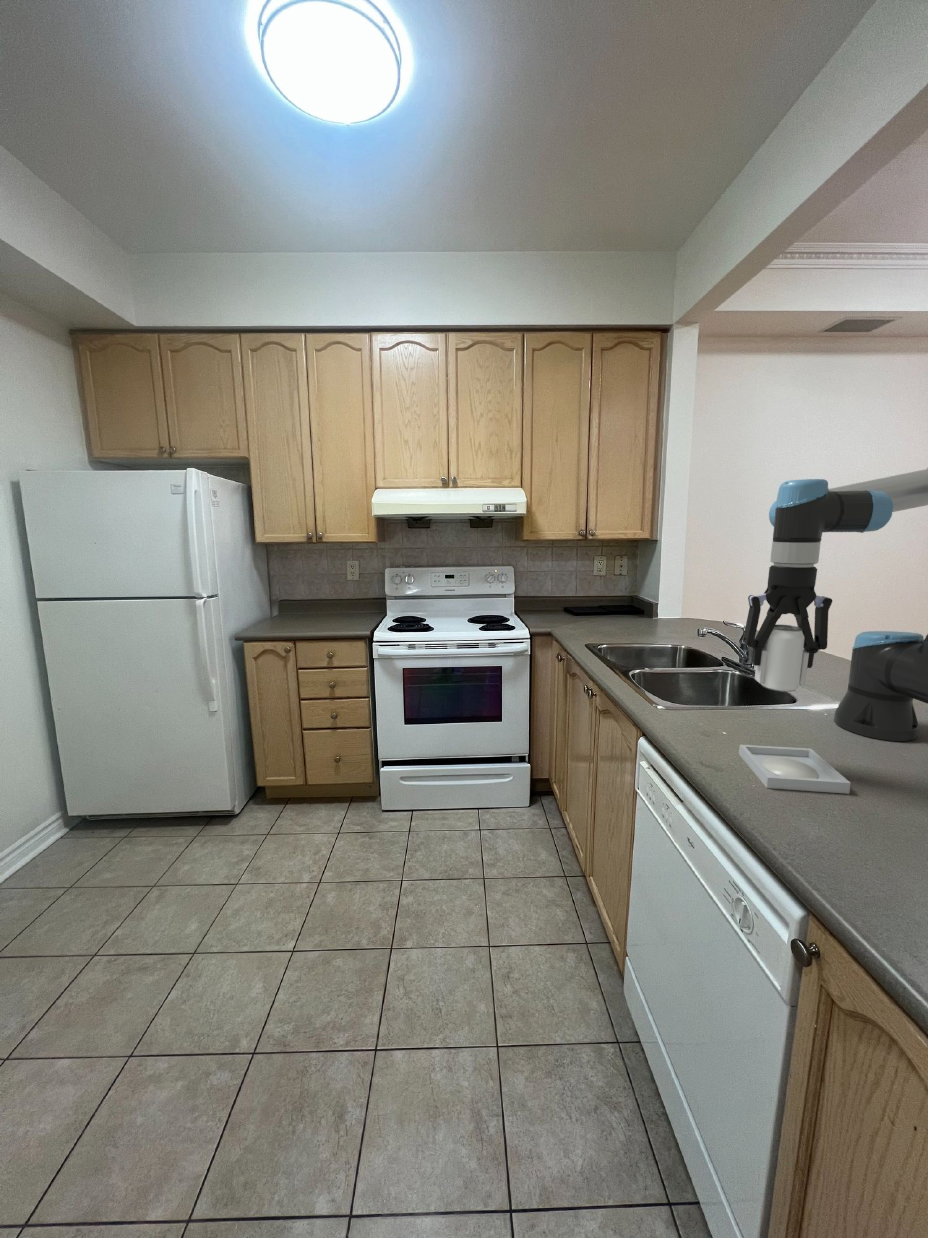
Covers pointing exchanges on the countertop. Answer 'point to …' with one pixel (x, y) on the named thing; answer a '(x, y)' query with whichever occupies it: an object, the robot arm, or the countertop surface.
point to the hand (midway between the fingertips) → (779, 682)
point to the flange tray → (793, 769)
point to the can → (783, 658)
